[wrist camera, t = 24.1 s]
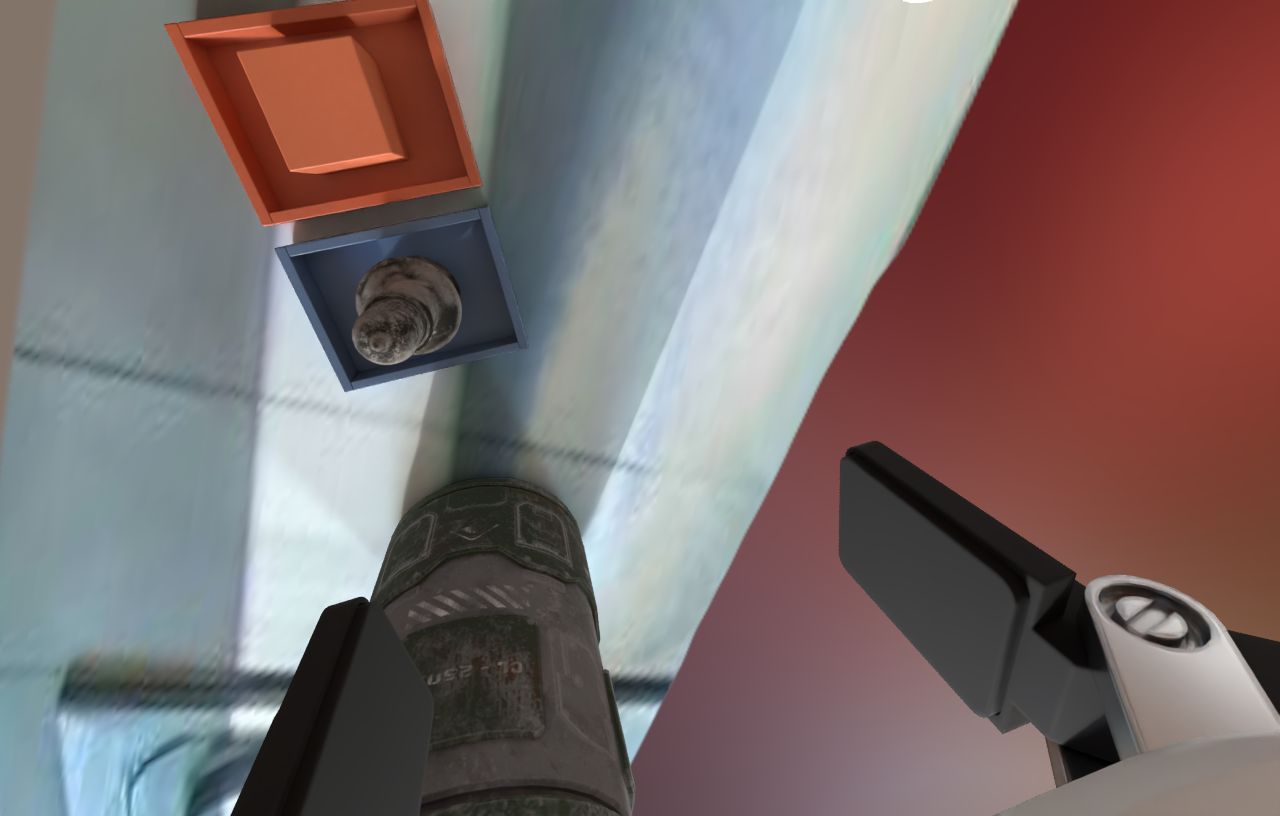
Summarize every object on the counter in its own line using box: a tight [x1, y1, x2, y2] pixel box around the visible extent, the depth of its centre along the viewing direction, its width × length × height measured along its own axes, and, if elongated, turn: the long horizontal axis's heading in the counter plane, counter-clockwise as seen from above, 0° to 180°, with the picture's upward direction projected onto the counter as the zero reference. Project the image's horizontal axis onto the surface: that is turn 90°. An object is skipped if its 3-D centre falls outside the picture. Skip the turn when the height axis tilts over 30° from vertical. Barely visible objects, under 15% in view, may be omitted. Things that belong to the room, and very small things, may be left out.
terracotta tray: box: [164, 0, 483, 226], centre depth 27 cm, size 12×9×2 cm
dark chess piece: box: [352, 256, 462, 365], centre depth 27 cm, size 6×6×12 cm
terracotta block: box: [237, 35, 410, 175], centre depth 25 cm, size 5×5×5 cm
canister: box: [370, 478, 635, 816], centre depth 30 cm, size 16×16×28 cm
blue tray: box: [275, 206, 528, 392], centre depth 31 cm, size 12×9×2 cm
